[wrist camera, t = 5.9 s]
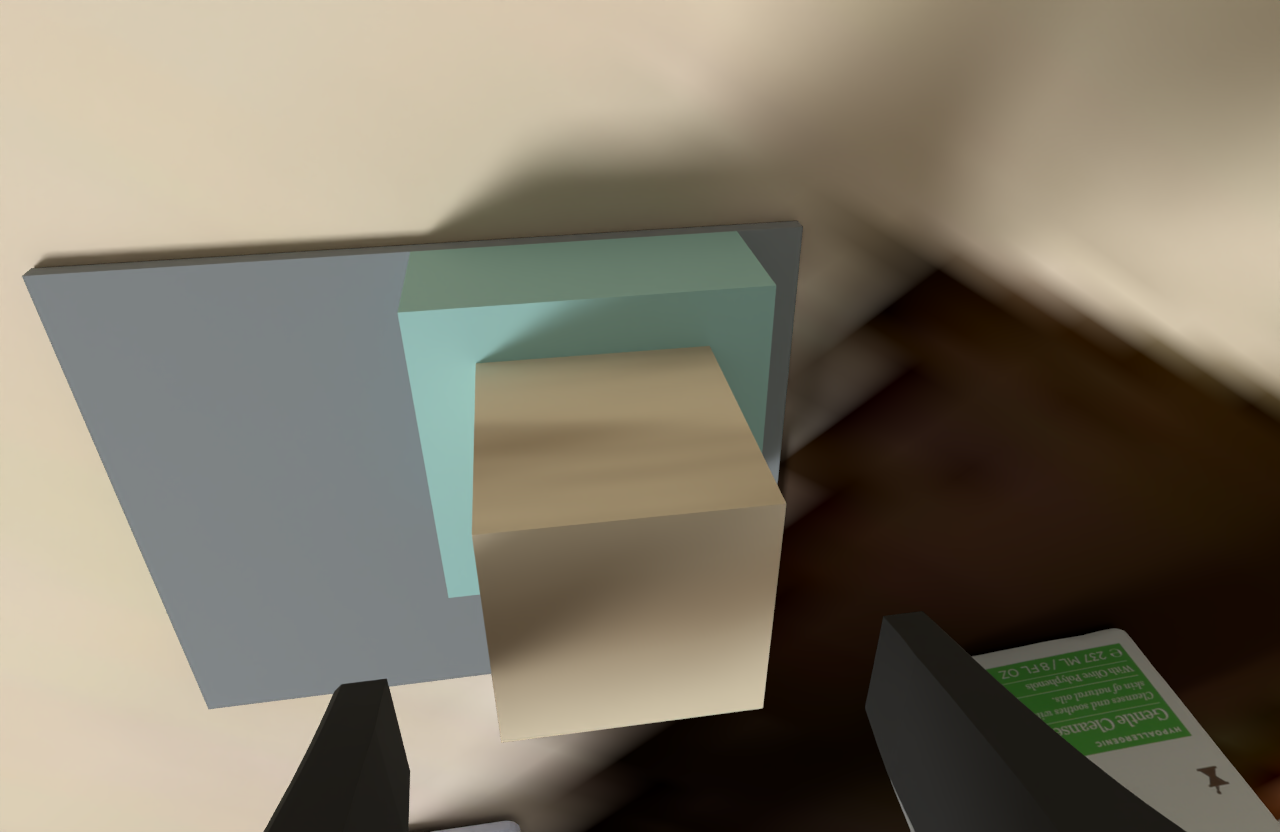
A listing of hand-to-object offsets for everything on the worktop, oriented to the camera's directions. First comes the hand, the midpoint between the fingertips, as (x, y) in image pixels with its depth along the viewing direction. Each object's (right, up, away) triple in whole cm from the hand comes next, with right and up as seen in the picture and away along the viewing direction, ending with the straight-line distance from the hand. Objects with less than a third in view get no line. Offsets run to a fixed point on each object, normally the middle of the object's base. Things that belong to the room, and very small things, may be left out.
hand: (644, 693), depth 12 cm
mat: (-4, +2, +9) cm, 10 cm away
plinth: (-1, +5, +8) cm, 9 cm away
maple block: (-1, +3, +5) cm, 6 cm away
